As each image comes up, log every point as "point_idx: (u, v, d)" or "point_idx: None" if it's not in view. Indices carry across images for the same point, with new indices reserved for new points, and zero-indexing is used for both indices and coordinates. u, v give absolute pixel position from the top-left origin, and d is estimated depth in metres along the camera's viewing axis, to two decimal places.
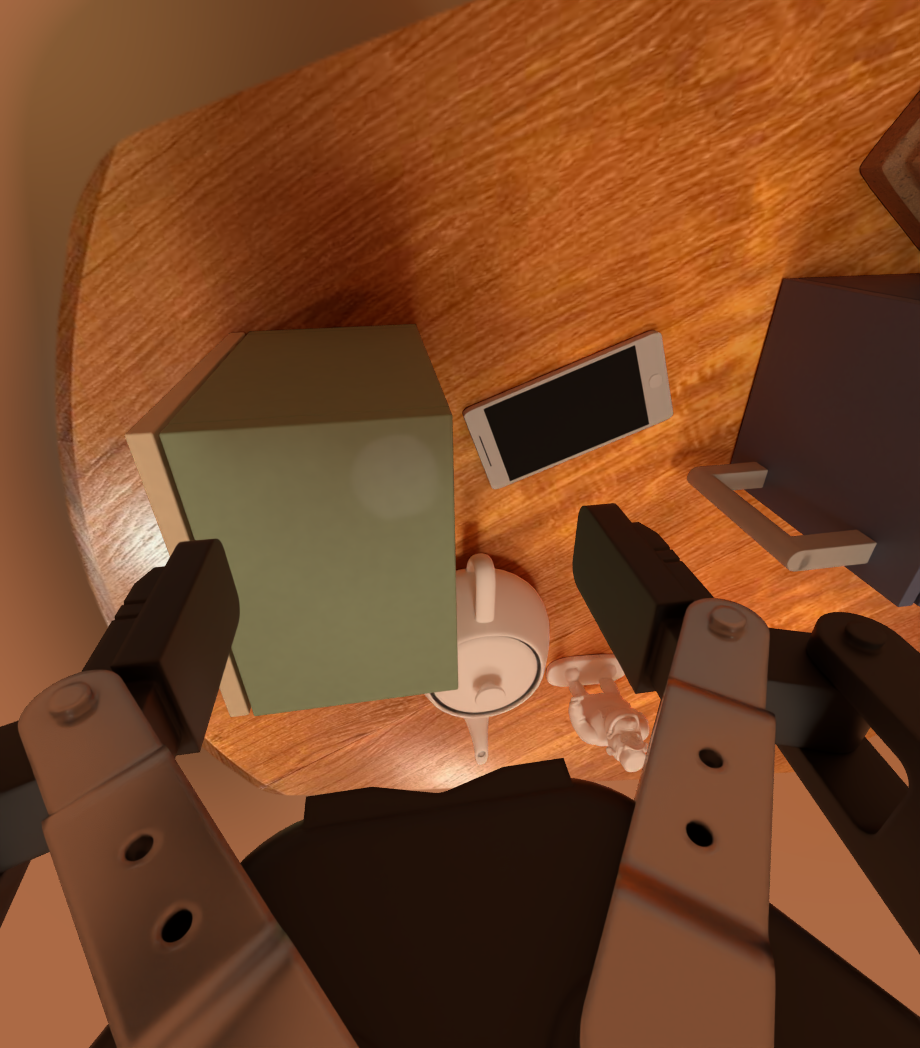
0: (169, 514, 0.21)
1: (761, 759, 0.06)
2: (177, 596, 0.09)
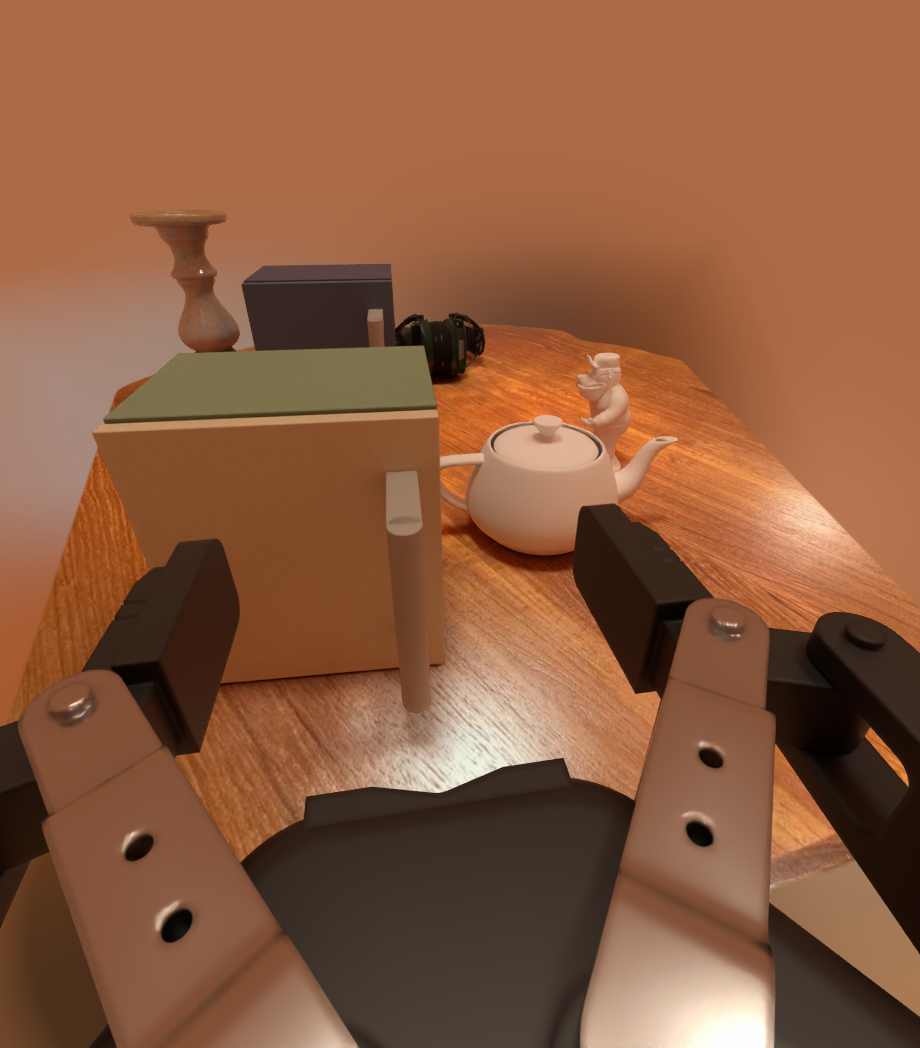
0: (174, 423, 0.25)
1: (761, 759, 0.06)
2: (177, 596, 0.09)
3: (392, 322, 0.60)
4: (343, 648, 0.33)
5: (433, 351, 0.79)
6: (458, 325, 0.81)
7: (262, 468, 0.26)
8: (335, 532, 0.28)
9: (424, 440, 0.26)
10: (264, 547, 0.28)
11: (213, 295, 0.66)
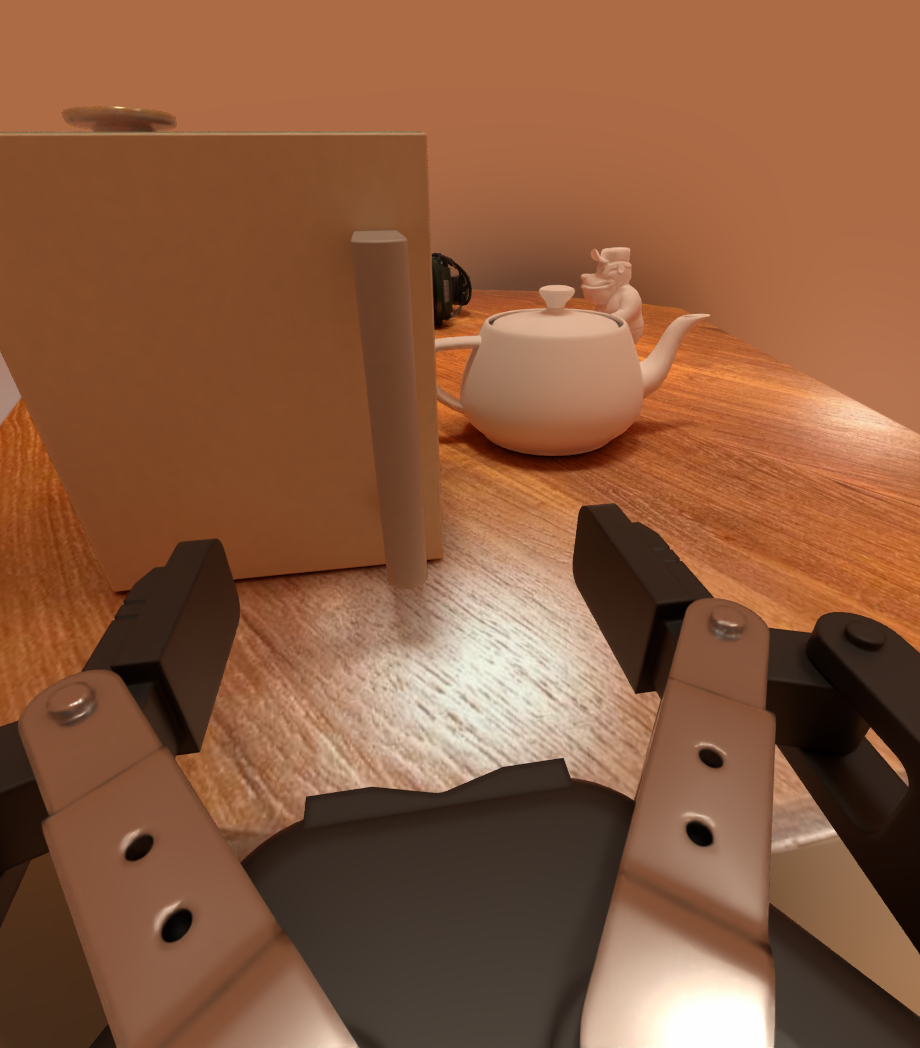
0: None
1: (761, 759, 0.06)
2: (177, 596, 0.09)
3: None
4: (307, 533, 0.25)
5: None
6: (442, 264, 0.74)
7: (171, 216, 0.18)
8: (286, 338, 0.20)
9: (406, 176, 0.18)
10: (186, 361, 0.20)
11: None
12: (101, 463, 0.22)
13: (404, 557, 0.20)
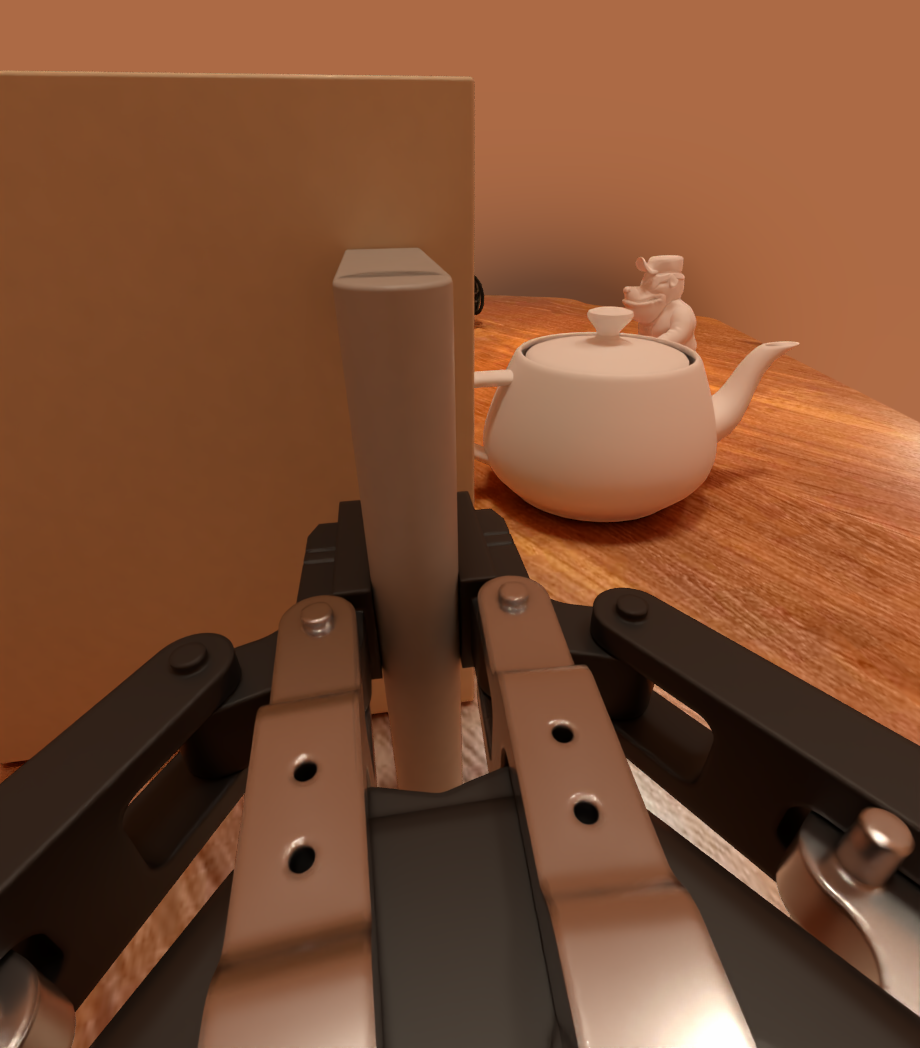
0: None
1: (597, 713, 0.06)
2: (361, 543, 0.10)
3: None
4: None
5: None
6: None
7: (22, 226, 0.10)
8: (238, 421, 0.13)
9: (437, 155, 0.10)
10: (74, 457, 0.12)
11: None
12: None
13: (429, 789, 0.12)
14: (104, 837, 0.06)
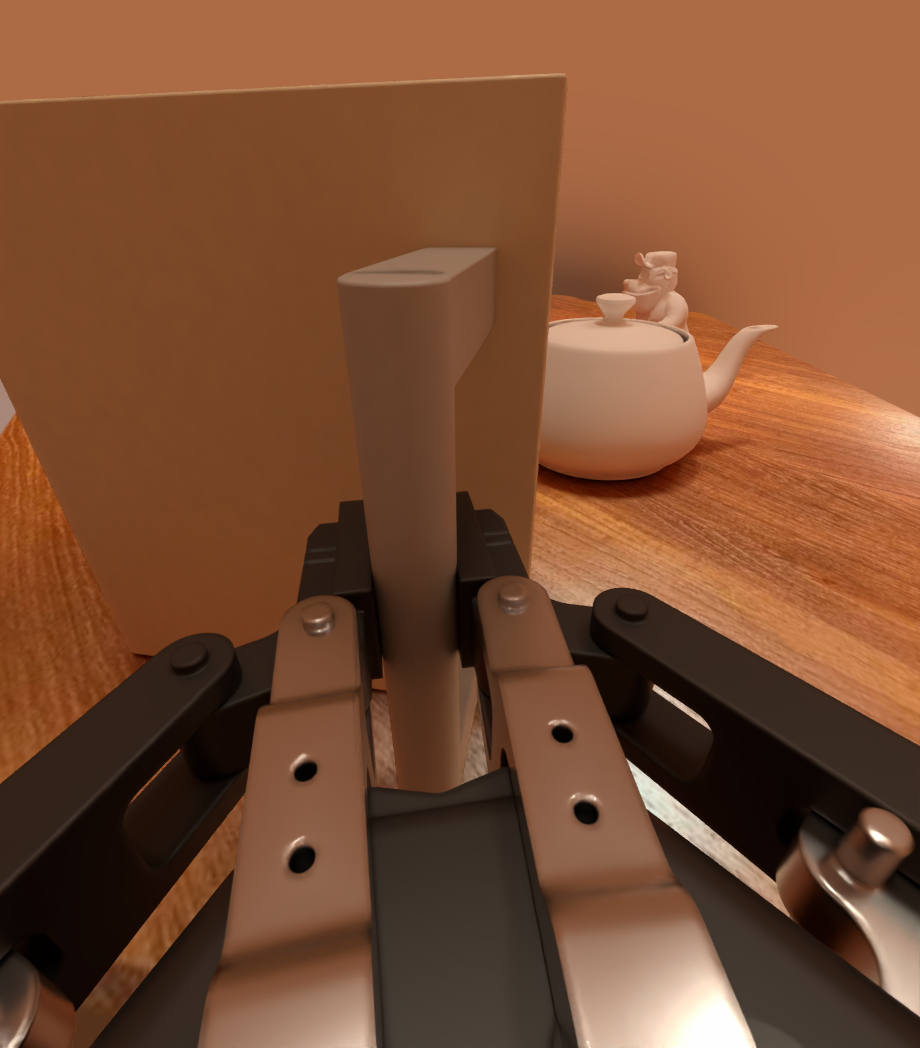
0: None
1: (597, 713, 0.06)
2: (361, 543, 0.10)
3: None
4: None
5: None
6: None
7: (173, 219, 0.12)
8: (321, 399, 0.14)
9: (522, 154, 0.10)
10: (196, 414, 0.15)
11: None
12: (110, 519, 0.18)
13: (416, 776, 0.12)
14: (104, 837, 0.06)
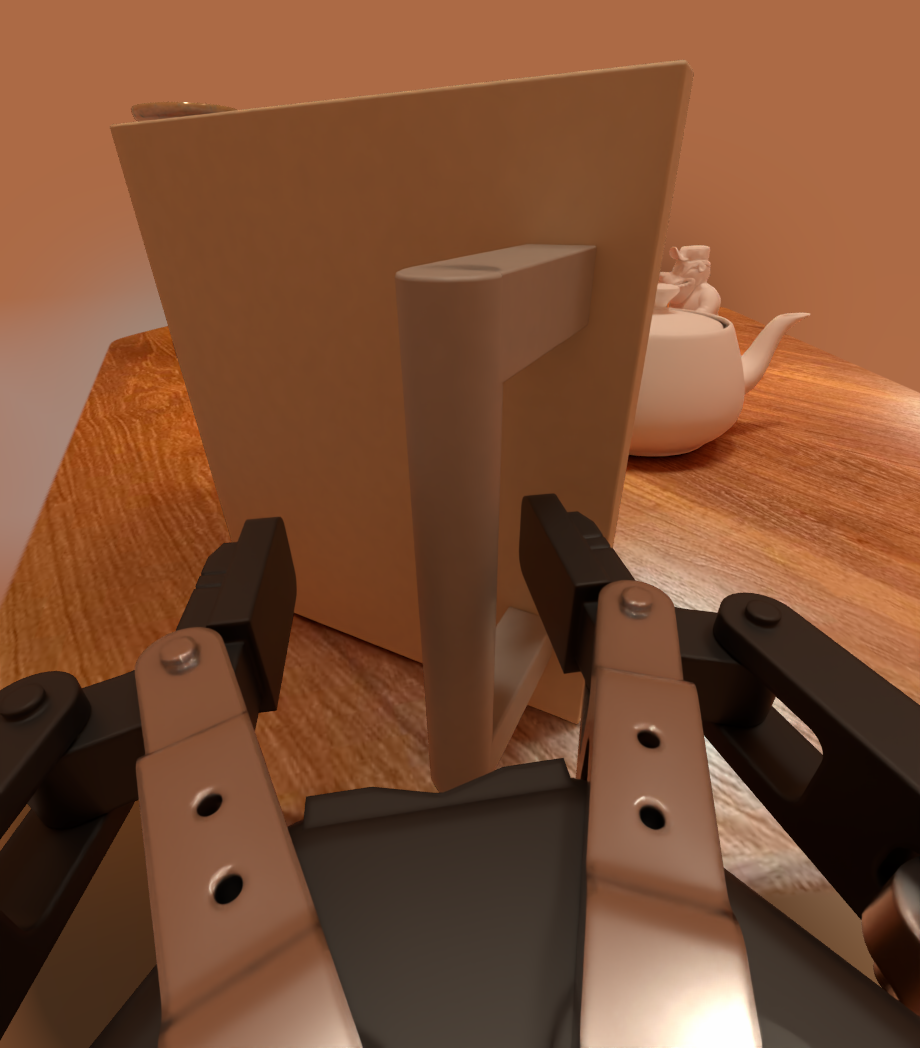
0: None
1: (691, 730, 0.06)
2: (255, 566, 0.10)
3: None
4: (416, 619, 0.20)
5: None
6: None
7: (310, 215, 0.14)
8: None
9: (631, 148, 0.10)
10: (313, 391, 0.17)
11: None
12: (241, 476, 0.20)
13: (442, 759, 0.12)
14: None
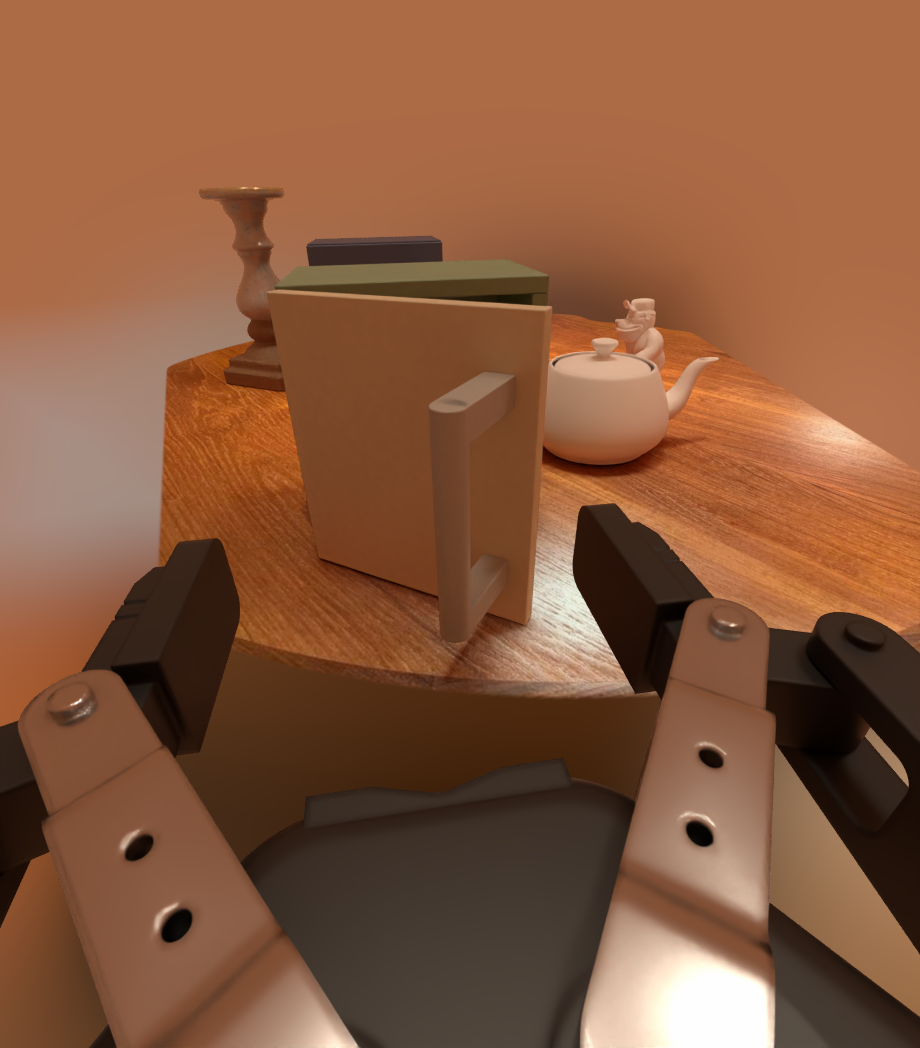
0: (323, 293, 0.27)
1: (761, 759, 0.06)
2: (177, 596, 0.09)
3: None
4: (430, 566, 0.33)
5: None
6: None
7: (377, 347, 0.27)
8: None
9: (527, 338, 0.23)
10: (374, 432, 0.30)
11: (269, 266, 0.71)
12: (323, 480, 0.33)
13: (446, 618, 0.25)
14: None
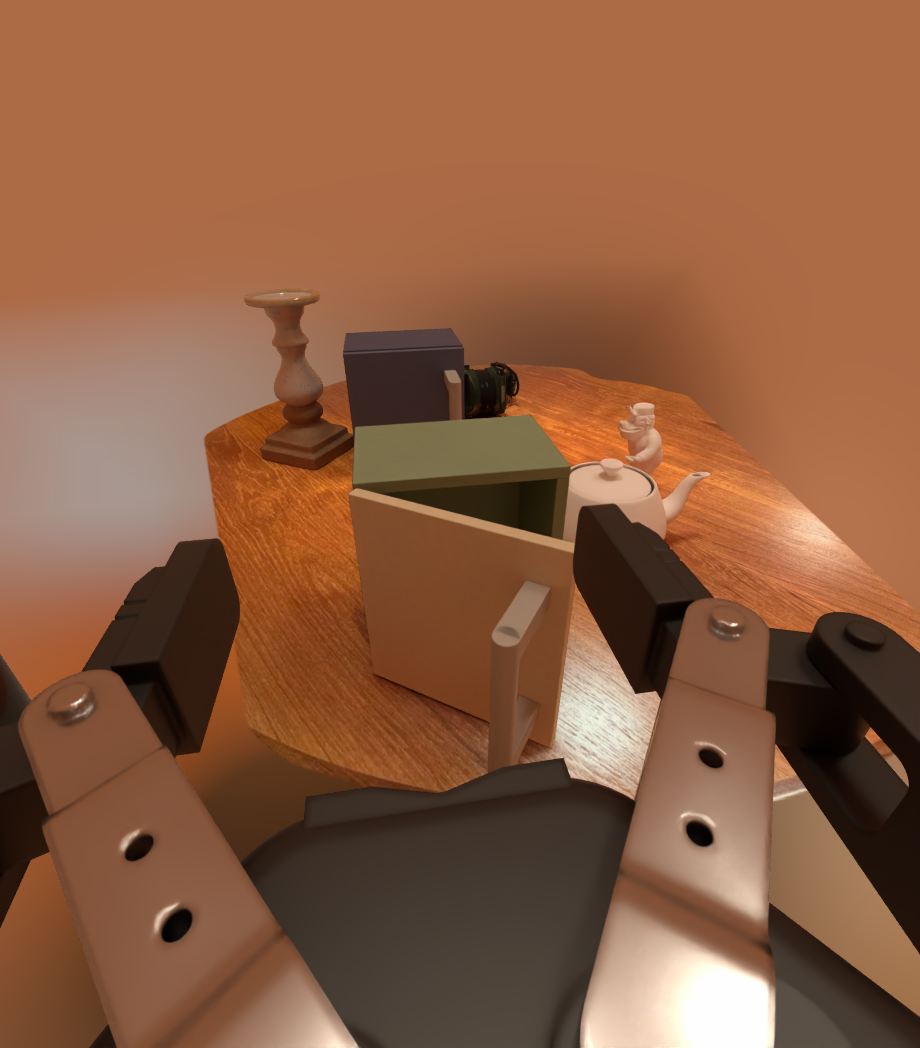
0: (395, 500, 0.35)
1: (761, 759, 0.06)
2: (177, 596, 0.09)
3: (462, 380, 0.72)
4: (472, 695, 0.40)
5: (480, 396, 0.92)
6: (499, 373, 0.94)
7: (439, 547, 0.34)
8: (481, 609, 0.35)
9: (560, 567, 0.30)
10: (431, 600, 0.37)
11: (304, 358, 0.78)
12: (384, 622, 0.41)
13: (494, 765, 0.33)
14: None
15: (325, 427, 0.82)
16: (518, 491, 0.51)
